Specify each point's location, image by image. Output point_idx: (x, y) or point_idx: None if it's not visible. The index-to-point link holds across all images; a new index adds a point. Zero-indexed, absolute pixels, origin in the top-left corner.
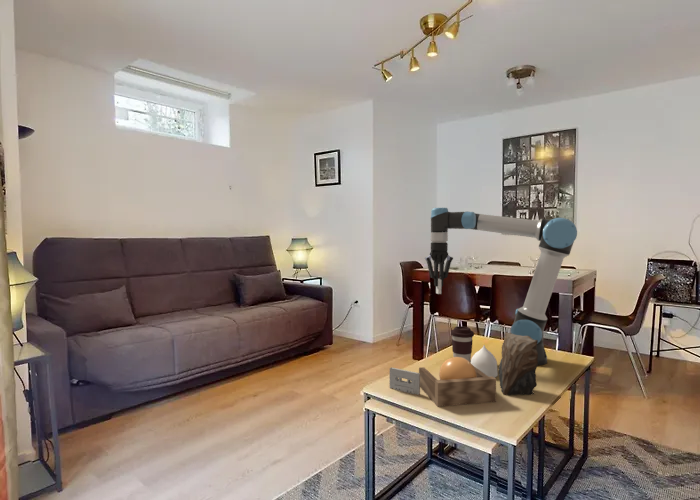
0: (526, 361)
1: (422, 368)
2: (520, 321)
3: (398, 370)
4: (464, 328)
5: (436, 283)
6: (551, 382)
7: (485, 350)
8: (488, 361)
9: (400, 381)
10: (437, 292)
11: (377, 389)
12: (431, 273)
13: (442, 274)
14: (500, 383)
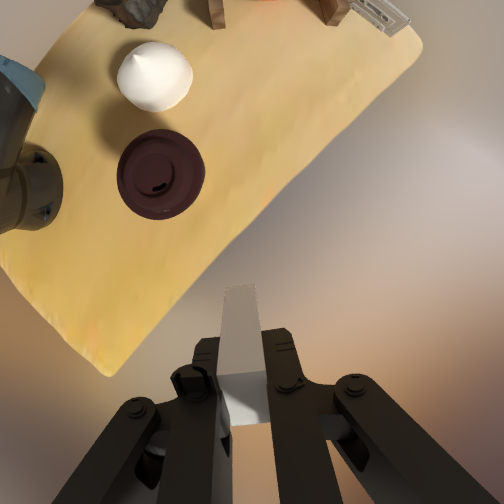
0: None
1: (343, 2)
2: (4, 57)
3: (394, 7)
4: (141, 190)
5: (280, 348)
6: (58, 56)
7: (138, 52)
8: (148, 42)
9: (380, 12)
10: (257, 304)
11: (410, 37)
12: (406, 418)
13: (192, 438)
14: (157, 13)
